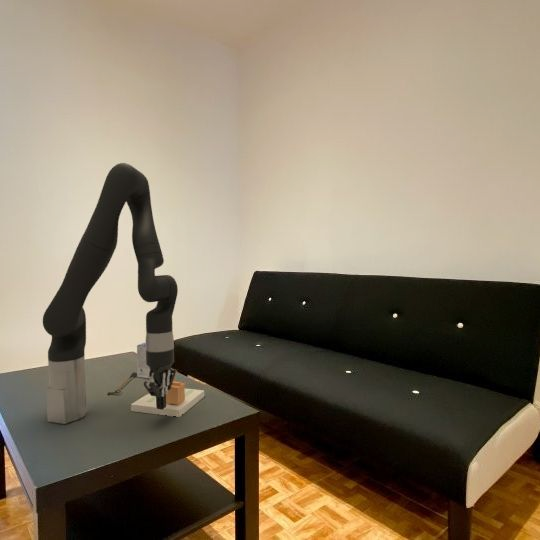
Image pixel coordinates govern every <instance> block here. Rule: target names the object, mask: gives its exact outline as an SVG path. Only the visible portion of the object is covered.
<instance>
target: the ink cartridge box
mask: <svg viewBox="0 0 540 540" xmlns="http://www.w3.org/2000/svg"><path fill="white" fill-rule="evenodd" d="M136 373H137V375H136V377H137V378H145V379H149V378H150V377H149V373H150V367H149V366H147V364H146V342H143V343H139V344H137V345H136Z"/></svg>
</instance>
